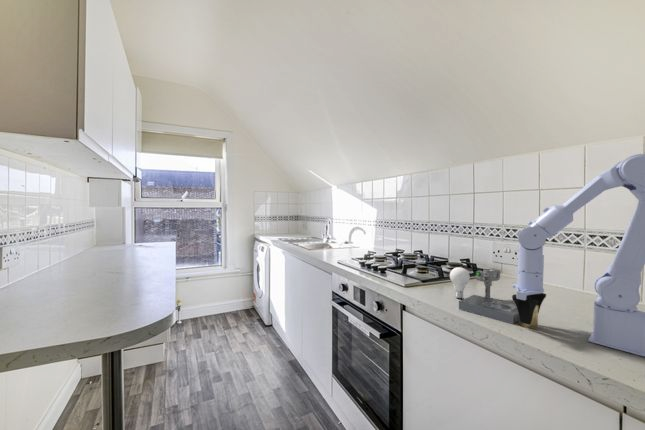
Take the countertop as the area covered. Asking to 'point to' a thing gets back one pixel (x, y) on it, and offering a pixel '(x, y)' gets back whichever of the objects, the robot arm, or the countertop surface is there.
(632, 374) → the countertop surface
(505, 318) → the plate
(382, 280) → the countertop surface
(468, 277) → the lightbulb
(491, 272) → the mechanical component
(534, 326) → the cylinder
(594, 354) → the countertop surface
